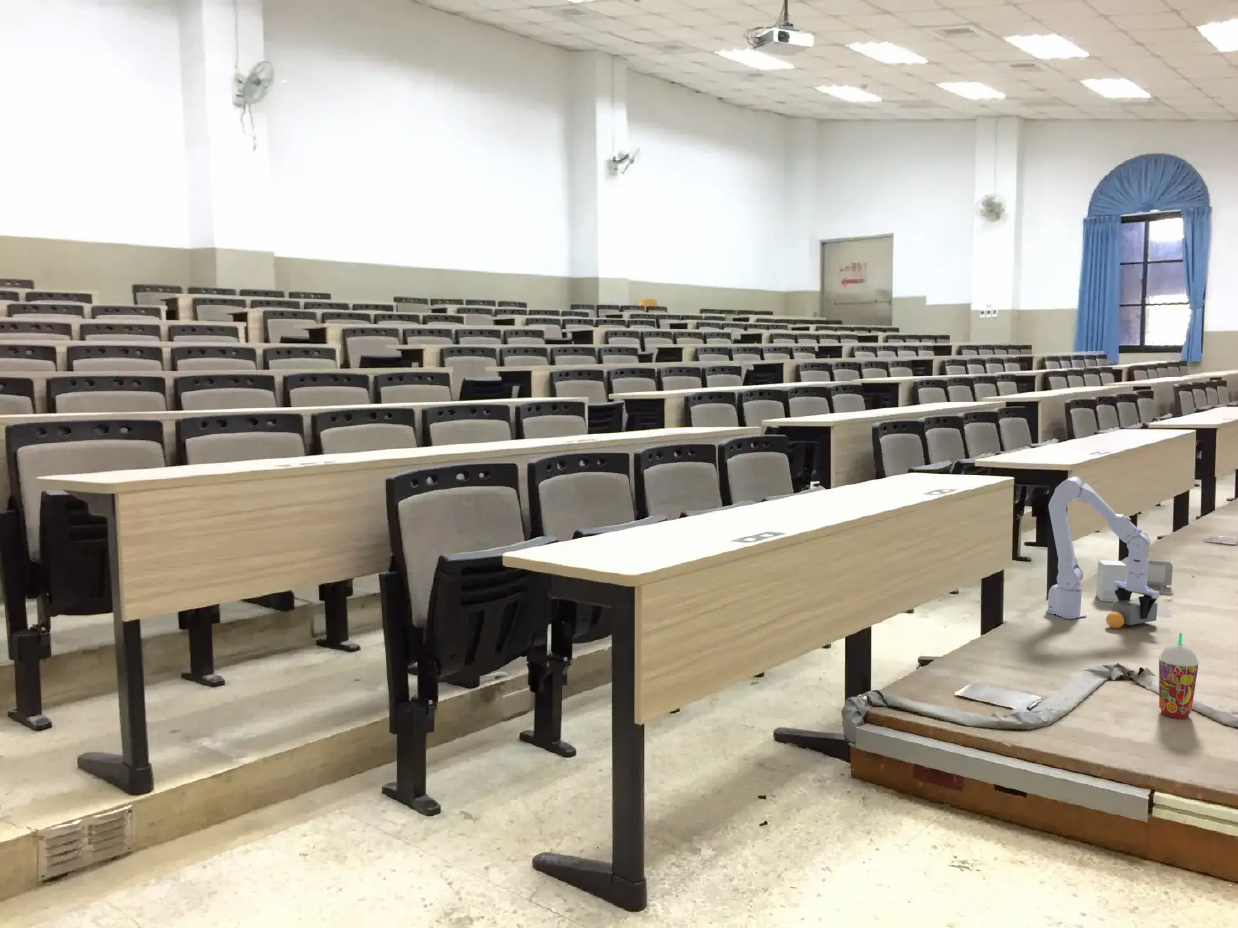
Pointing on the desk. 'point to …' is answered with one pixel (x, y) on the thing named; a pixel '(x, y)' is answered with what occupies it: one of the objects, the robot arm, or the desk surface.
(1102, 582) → the supplement box
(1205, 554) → the desk surface
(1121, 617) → the ball
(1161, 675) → the smoothie
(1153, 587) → the handheld gaming console
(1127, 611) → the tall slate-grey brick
